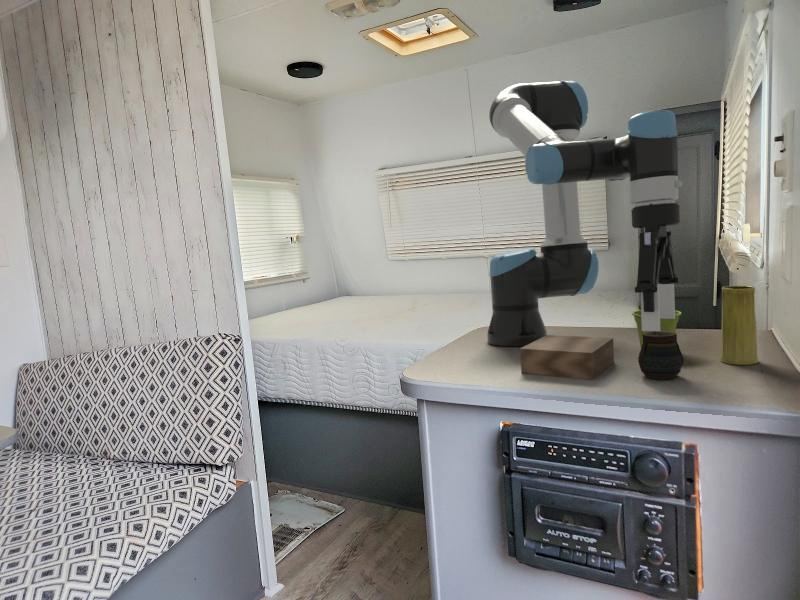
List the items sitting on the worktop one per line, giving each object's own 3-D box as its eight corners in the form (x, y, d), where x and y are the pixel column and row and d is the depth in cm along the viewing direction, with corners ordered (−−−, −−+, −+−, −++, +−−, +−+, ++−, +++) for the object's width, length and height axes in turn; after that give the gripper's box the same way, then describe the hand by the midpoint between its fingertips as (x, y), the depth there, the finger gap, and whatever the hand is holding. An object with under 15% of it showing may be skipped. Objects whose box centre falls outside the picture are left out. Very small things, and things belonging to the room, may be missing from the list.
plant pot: (671, 346, 116) (670, 307, 115) (690, 355, 106) (689, 313, 105) (627, 348, 117) (625, 310, 116) (642, 358, 107) (641, 317, 106)
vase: (729, 366, 97) (728, 290, 95) (714, 358, 103) (713, 286, 101) (765, 364, 96) (764, 287, 94) (748, 357, 102) (747, 284, 100)
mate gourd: (652, 383, 90) (650, 327, 89) (630, 373, 98) (627, 321, 97) (692, 379, 90) (690, 322, 90) (667, 369, 98) (665, 317, 97)
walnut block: (521, 373, 104) (520, 348, 103) (547, 357, 115) (546, 335, 114) (593, 379, 95) (592, 352, 95) (614, 361, 106) (613, 337, 106)
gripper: (664, 199, 79) (669, 337, 81) (690, 203, 98) (694, 314, 100) (612, 205, 83) (618, 336, 85) (647, 207, 103) (651, 313, 105)
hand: (659, 324), depth 93 cm, fingers open, 13 cm apart
